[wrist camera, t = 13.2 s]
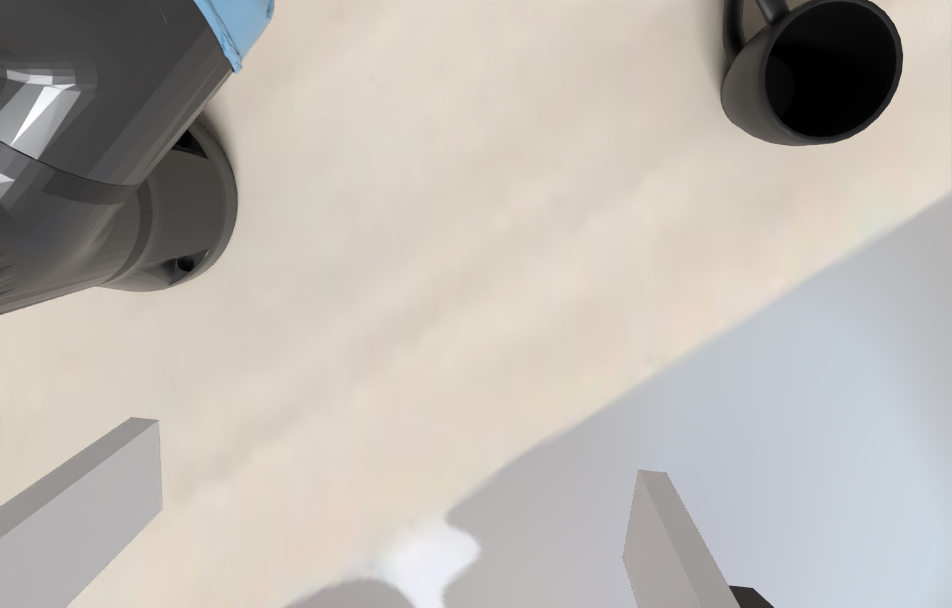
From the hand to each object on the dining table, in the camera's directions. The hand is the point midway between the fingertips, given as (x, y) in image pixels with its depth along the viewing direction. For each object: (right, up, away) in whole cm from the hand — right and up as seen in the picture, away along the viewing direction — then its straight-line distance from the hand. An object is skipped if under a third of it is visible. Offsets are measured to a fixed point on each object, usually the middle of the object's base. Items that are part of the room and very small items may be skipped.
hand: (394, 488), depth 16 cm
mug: (+22, +22, +27) cm, 41 cm away
